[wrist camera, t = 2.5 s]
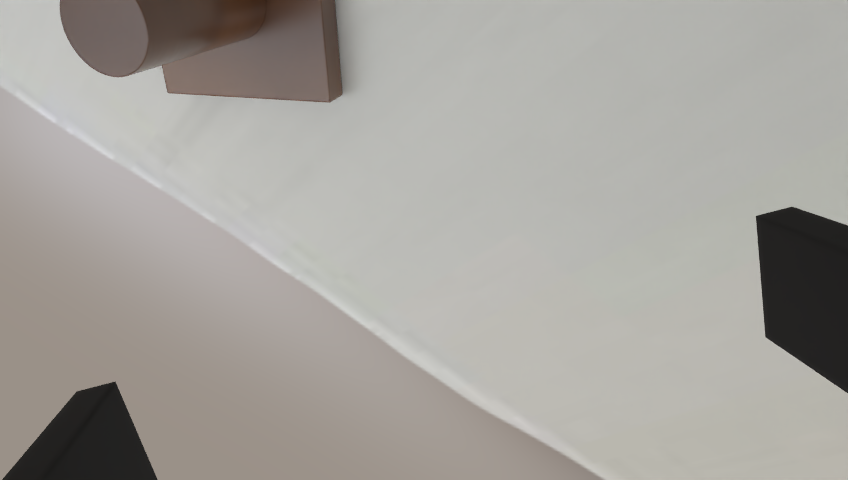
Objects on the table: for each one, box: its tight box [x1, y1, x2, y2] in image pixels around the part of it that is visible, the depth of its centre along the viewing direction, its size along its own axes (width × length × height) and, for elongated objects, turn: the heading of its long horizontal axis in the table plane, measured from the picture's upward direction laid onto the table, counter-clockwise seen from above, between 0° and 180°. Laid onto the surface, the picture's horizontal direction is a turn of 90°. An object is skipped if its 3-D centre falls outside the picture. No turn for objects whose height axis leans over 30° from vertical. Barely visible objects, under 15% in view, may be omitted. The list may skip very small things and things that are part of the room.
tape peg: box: [60, 0, 342, 102], centre depth 26 cm, size 9×9×10 cm
